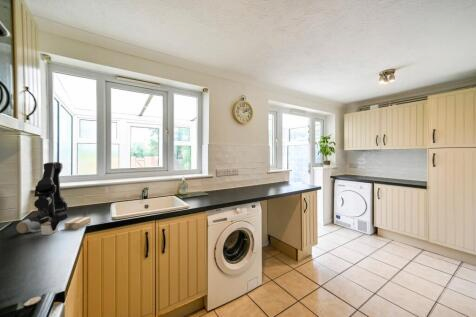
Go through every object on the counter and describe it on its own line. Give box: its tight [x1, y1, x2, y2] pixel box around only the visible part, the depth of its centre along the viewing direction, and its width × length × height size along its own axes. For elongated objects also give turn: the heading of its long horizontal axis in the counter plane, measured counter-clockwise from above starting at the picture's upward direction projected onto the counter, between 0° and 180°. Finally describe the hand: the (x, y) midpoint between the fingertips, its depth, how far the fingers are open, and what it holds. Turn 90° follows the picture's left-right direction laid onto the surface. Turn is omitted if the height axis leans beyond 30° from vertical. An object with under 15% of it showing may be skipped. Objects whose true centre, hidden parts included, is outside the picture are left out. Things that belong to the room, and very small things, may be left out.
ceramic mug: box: [16, 218, 41, 234], centre depth 116 cm, size 11×8×8 cm
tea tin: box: [40, 220, 59, 236], centre depth 113 cm, size 5×5×6 cm
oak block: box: [63, 216, 92, 230], centre depth 122 cm, size 9×9×4 cm
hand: (49, 230), depth 113 cm, fingers closed on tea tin, 5 cm apart
